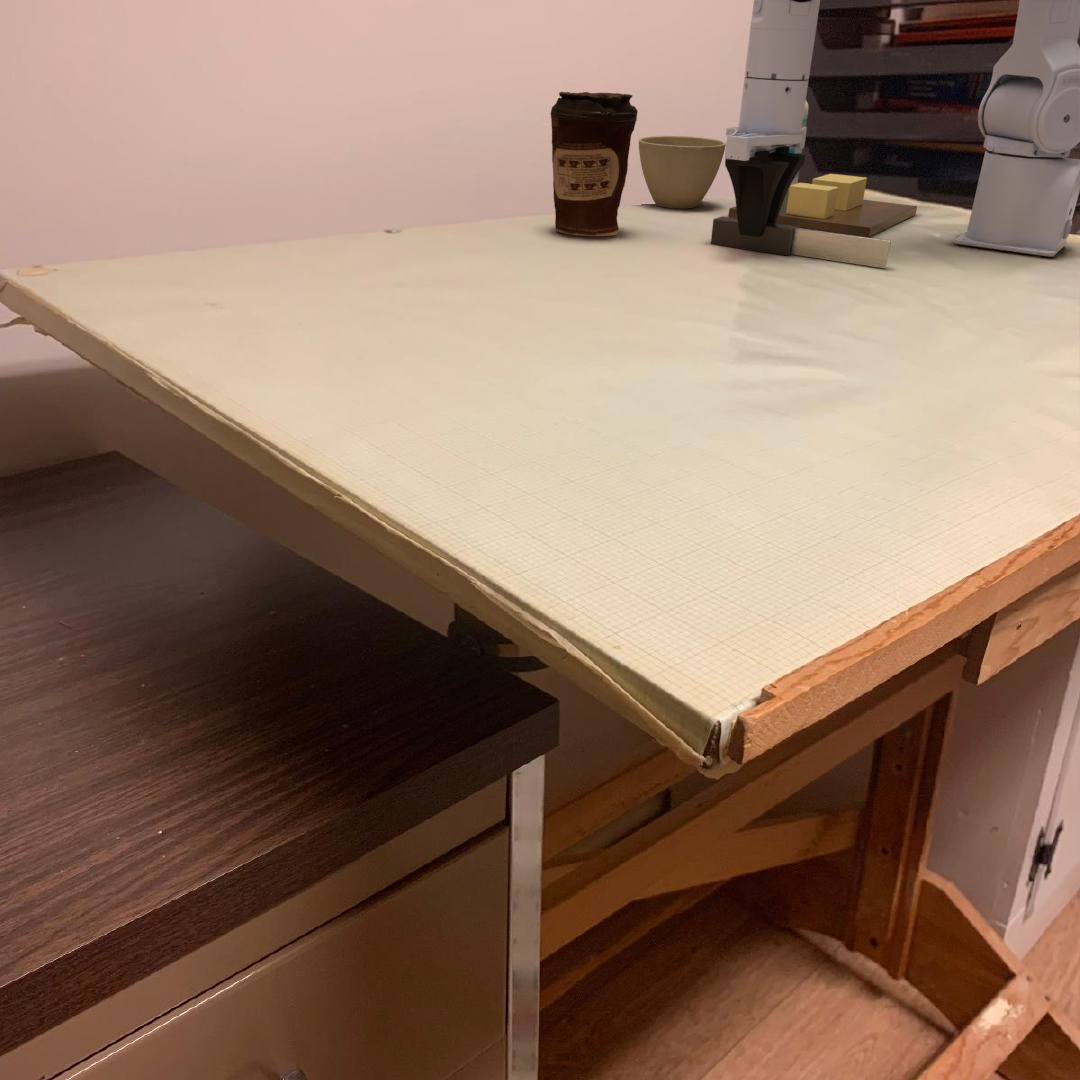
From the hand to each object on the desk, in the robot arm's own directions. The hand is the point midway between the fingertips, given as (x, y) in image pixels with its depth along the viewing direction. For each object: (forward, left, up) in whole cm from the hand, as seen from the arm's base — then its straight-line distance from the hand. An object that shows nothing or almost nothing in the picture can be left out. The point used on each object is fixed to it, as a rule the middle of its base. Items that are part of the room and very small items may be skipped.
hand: (755, 233), depth 96 cm
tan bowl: (+17, -17, -2) cm, 24 cm away
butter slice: (0, -17, 0) cm, 17 cm away
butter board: (+1, -23, -1) cm, 23 cm away
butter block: (0, -25, 0) cm, 25 cm away
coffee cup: (+16, +5, -2) cm, 17 cm away
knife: (-4, 0, -1) cm, 4 cm away
